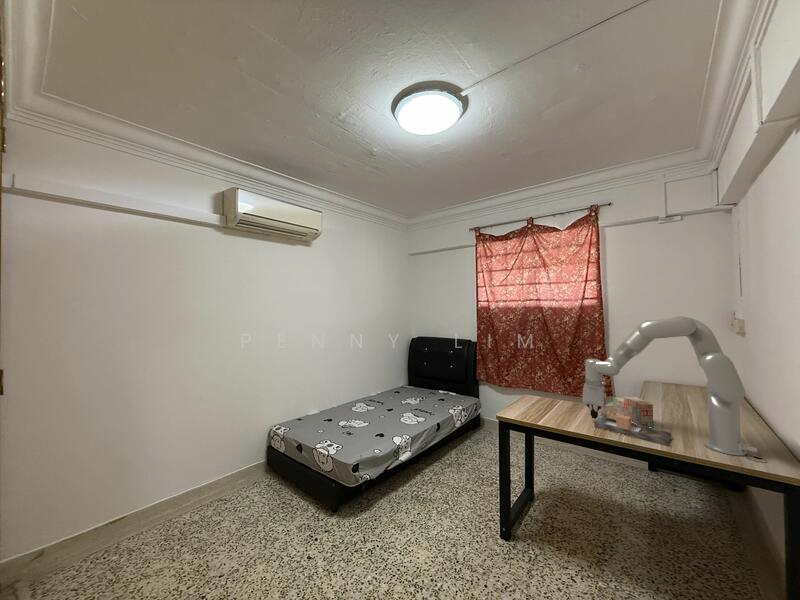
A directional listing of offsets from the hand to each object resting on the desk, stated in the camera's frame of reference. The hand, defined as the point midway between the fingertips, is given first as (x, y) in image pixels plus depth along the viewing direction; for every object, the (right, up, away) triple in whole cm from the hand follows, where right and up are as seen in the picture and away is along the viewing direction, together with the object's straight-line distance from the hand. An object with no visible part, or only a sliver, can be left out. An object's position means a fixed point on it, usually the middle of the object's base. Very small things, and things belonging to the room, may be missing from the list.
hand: (594, 417), depth 162 cm
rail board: (+11, -3, -12) cm, 16 cm away
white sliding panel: (+7, -2, -8) cm, 11 cm away
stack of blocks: (+24, -4, +5) cm, 25 cm away
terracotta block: (+9, -1, -10) cm, 13 cm away
